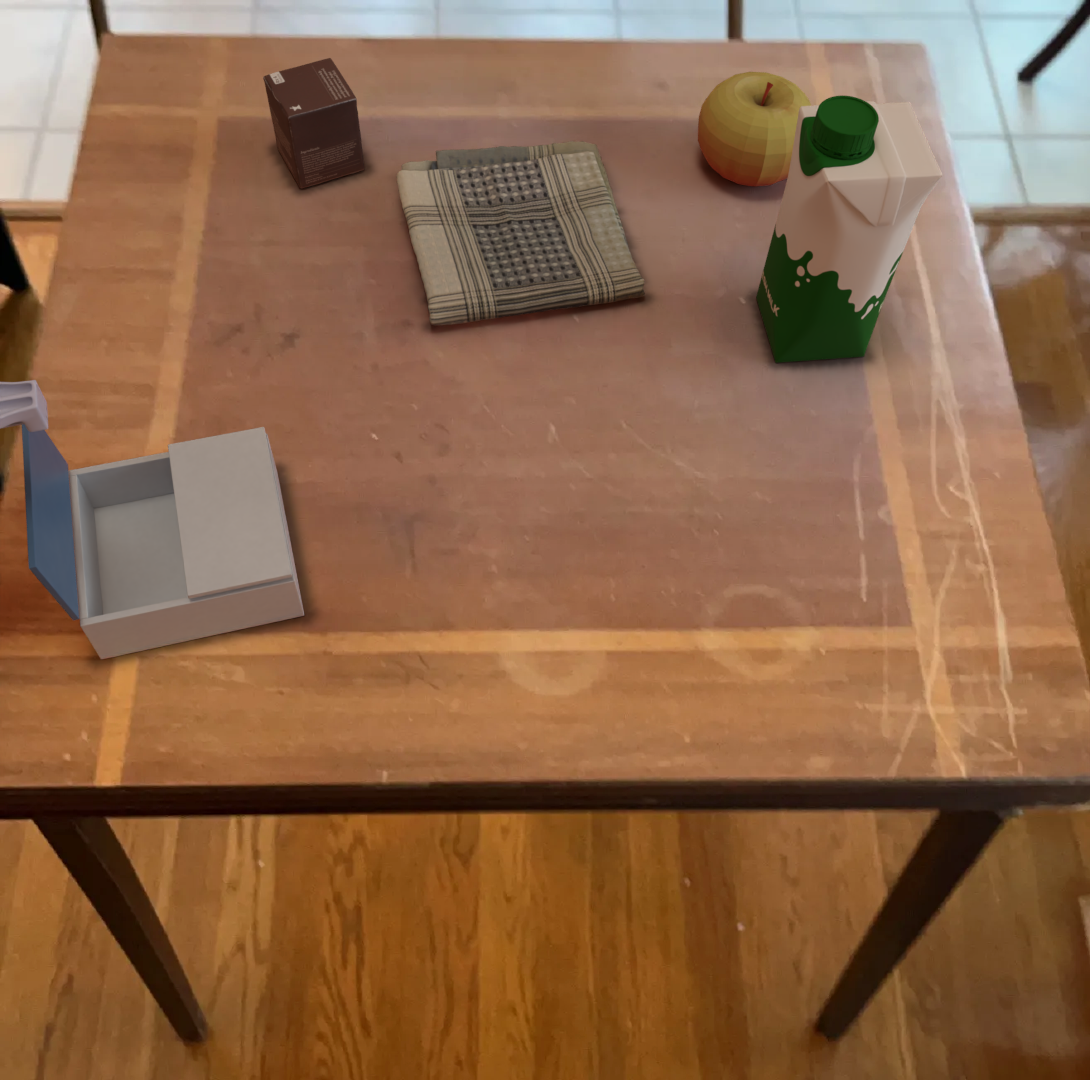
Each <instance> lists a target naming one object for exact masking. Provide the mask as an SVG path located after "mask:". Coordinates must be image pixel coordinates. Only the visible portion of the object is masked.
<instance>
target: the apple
mask: <svg viewBox="0 0 1090 1080" xmlns="http://www.w3.org/2000/svg"><path fill="white" fill-rule="evenodd" d="M801 106H812V104H811V101H810V98H808V96H807V95H806V93H805V92H804V91H803V90H802V89H801V88H800V87H799V86H798V85H797V84H796V83H794V82H793V81H790V80H789V79H787V78H785V77H783V76H780V75H777V74H773V73H769V72H767V71H766V72H765V71H745V72H741V73H736V74H734V75H732V76H730V77H728V78H726V79H725V80H723V81H721V82H719V83H717V84H716V85H715V86H714V88H713V89H712V91H711V92H710V93H709V94H708V95H707V97H706V99H705V100H704V101H703V102H702V104H701V108H700V111H699V115H698V124H697V143H698V145H699V148H700V150H701V153H702V155H703V156H704V159H705V160H706V162H707V164H708V165H709V166H710V167H711V169H713V171H715V172H716V173H717V174H718V175H720V176H721V177H722V178H723V179H726V180H728V181H729V182H730V181H731V182H733V183H735V184H736V185H737V184H738V185H743V186H748V187H766V186H772V185H773V184H774V185H775V184H776V183H779V182H781V181H784V180H786V179H787V178H788V174H789V169H790V163H791V157H792V151H793V145H794V139H795V132H796V126H797V120H798V113H799V108H800V107H801Z"/></svg>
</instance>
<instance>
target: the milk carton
mask: <svg viewBox="0 0 1090 1080" xmlns="http://www.w3.org/2000/svg"><path fill="white" fill-rule="evenodd" d="M943 176H944V175H943V172H942V170H941V168H940V166H939V163H938V161H937V159H936V157H935V154H934V153H933V150H932V148H931V146H930V143H929V141H928V138H927V137H926V135H925V132H924V130H923V128H922V126H921V123H920V120H919V119H918V116H917V115H916V112H915V110H914V108H913V105H912V103H911V102H910V101H900V102H880V103H879V102H877V103H876V102H875V101H872V100H871V101H868V100H867V101H866V100H863V99H862V98H859V97H855V96H852V95H834V96H830V97H828V98H826V99H824V100H823V101H821V103H820V104H814V105H811V106H801V107H800V108H799V113H798V120H797V126H796V132H795V139H794V145H793V151H792V157H791V163H790V169H789V174H788V178H786V179H787V180H786V183H785V187H784V189H783V190H784V191H783V194H782V197H781V202H780V206H779V210H778V213H777V216H776V221H775V225H774V228H773V232H772V235H771V240H770V243H769V247H768V250H767V254H766V258H765V263H764V266H763V270H762V273H761V277H760V281H759V284H758V288H757V292H756V296H755V298H756V302H757V307H758V309H759V312H760V316H761V319H762V322H763V325H764V329H765V333H766V335H767V336H766V337H767V339H768V342H769V344H770V345H769V346H770V349H771V352H772V356H773V359H774V362H775V363H776V364H777V363H791V362H792V363H793V362H806V361H820V360H834V359H836V360H837V359H849V358H862V357H865V356H866V353H867V349H868V346H869V344H870V340H871V338H872V335H873V332H874V329H875V327H876V324H877V322H878V318H879V315H880V314H881V310H882V308H883V305H884V302H885V300H886V297H887V294H888V291H889V289H890V287H891V283H892V281H893V279H894V276H895V274H896V272H897V269H898V267H899V263H900V261H901V258H902V256H903V254H904V252H905V248H906V246H907V244H908V241H909V239H910V237H911V234H912V231H913V228H914V226H915V224H916V221H917V218H918V216H919V213H920V212H921V211H920V210H921V208H922V207H923V204H925V201H926V200H927V198H928V197H929V196H930V195H931V193H932V191H933V190H934V189H935V187H936V186H937V185H938V183H939V181H940V180H941V179H942V177H943Z"/></svg>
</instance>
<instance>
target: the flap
mask: <svg viewBox="0 0 1090 1080" xmlns="http://www.w3.org/2000/svg"><path fill="white" fill-rule="evenodd" d="M21 440H22V457H23V458H22V459H23V461H22V462H23V481H24V501H25V523H26V542H27V560H28V570H29V571H30V572H31V573H32V574H33V575H34V577H35V578H36V579H37V580H38V582H40V583H41V585H42V586H43V587H44V588H45V589H46V591H47V592H48V593H49V594H50V595H51V597H53V599H54V600H55V601H56V603H58V605H59V606H60V607H61V608H62V610H63V611H64V612H65V613H66V615H68V617H69V618H70V619H71V620H72V621H78V620H80V617H79V604H78V590H77V577H76V563H75V550H74V536H73V523H72V509H71V496H70V482H69V463H68V462H67V460H66V459H65V458H64V456H63V455H62V453H61V452H60V450H59V449H58V447H57V445H55V443H54V442H53V440H52V438H51V437H50V436H49V434H48V432H47V430H41V431H35V432H30V431H28V430H27V428H26V426H25V424H23V425H21Z"/></svg>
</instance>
